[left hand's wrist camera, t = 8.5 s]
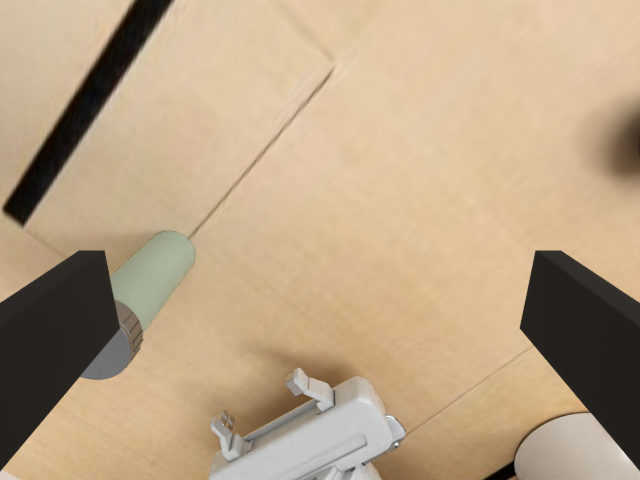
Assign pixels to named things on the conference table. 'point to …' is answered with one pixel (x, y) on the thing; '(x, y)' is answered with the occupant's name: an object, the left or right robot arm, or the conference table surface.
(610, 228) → the conference table surface
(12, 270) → the conference table surface
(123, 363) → the lid
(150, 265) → the jar
